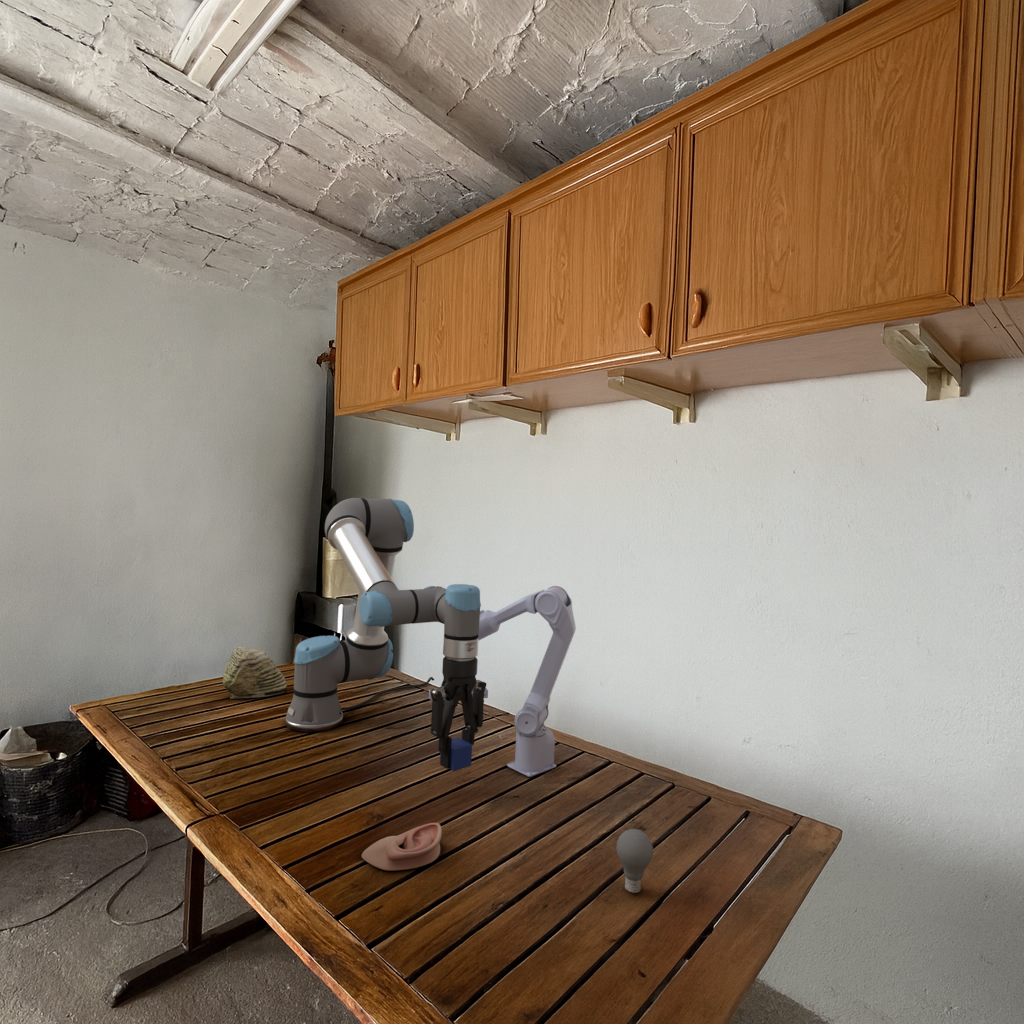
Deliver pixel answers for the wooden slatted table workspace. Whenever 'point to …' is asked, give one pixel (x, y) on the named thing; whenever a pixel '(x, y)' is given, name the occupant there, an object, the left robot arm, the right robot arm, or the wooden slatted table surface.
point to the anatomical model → (406, 849)
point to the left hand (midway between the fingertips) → (455, 763)
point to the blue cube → (460, 754)
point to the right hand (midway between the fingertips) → (457, 726)
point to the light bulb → (634, 857)
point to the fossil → (252, 674)
